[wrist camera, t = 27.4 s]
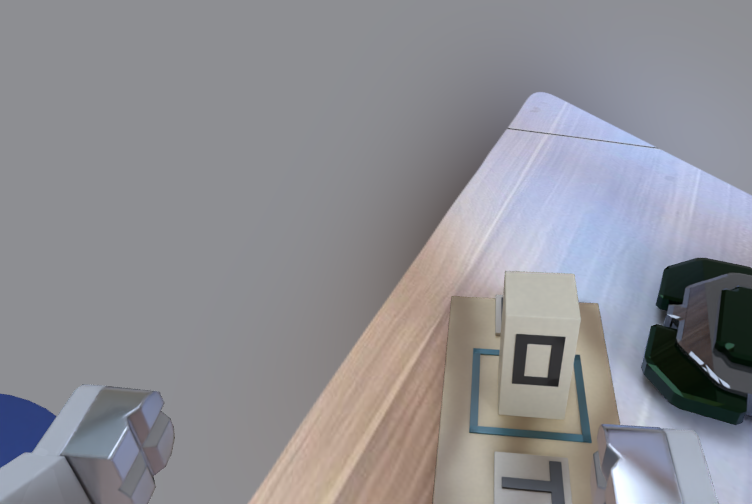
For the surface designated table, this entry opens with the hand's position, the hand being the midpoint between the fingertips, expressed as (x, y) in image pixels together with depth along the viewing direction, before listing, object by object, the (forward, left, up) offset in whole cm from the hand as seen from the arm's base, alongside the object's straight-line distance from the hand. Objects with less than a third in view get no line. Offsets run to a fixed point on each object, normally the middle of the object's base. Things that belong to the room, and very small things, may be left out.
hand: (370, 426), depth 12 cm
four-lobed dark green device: (+25, +33, -30) cm, 51 cm away
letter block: (+6, +27, -29) cm, 41 cm away
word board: (+6, +27, -30) cm, 41 cm away
